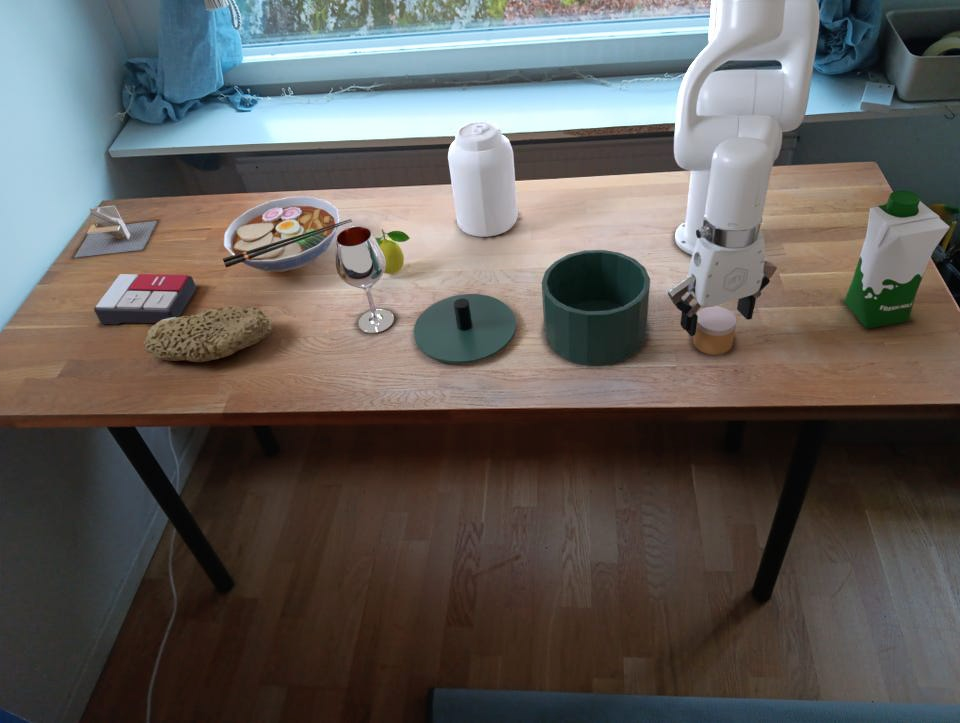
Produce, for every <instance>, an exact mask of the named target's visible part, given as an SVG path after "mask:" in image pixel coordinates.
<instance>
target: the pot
mask: <svg viewBox="0 0 960 723" xmlns="http://www.w3.org/2000/svg"><path fill="white" fill-rule="evenodd" d="M650 287H651V277H650V275H649V273H648V271H647V269H646V267H645V266H644V265H643V264H641V262H639V261H638V260H637V259H636V258H633V257H632V256H629V255H626V254H624V253H622V252H619V251H612V250H606V249H587V250H586V249H585V250H580V251H575V252H573V253H569V254H566V255H564V256H562V257H561V258H559V259H556V260H555V261H554V262H553V263H551V264H550V266H548V268H547V269H546V270H545V271H544V273H543V277H542V280H541V297H542V314H543V329H544V330H543V331H544V337H545V341H546V343H547V344H548V346H549V347H550V349H551V350H552V351H553V352H554V353H555V354H557V355H558V356H559V357H561V358H562V359H564V360H567V361H569V362H572V363H574V364H577V365H583V366H596V367H597V366H598V367H599V366H607V365H608V366H609V365H612V364H616V363H620V362H623V361H625V360H627V359H628V358H630V357H631V356H633V355H634V354H636V353H637V352H638V351H639V350H640V349H641V347H642V346H643V344H644V342H645V340H646V335H647V327H648V326H647V325H648V313H649V299H650Z"/></svg>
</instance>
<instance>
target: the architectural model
mask: <svg viewBox="0 0 960 723" xmlns="http://www.w3.org/2000/svg"><path fill="white" fill-rule="evenodd" d="M89 211H90V214H91V215H92V217H93V219H94V220H95V221H92V223H93V224H91V225H90V227H89V228H88V230H87V231H86V234H87V236H86V238H85V239H84V241H83V242H82V244H81V245H80V247H79V249H78V250H77V252H76V254H75V255H74V257H73V258H83V257H91V256H99V255H100V256H101V255H108V254H109V255H110V254H118V253H126V252H134V251H135V252H136V251H143V250H144V248H145V247H146V245H147V242H148V241H149V239H150V237H151V235H152V233H153V231H154V229H155V227H156V225H157V222H158V220H153V221H144V222H136V223H135V222H134V223H128V224H126V223H125V222H124V220H123V219H122V216H121V215H120V212H119V210H118V209H117V208H116V205H107V206H99V207H91V208H89Z"/></svg>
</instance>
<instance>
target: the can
mask: <svg viewBox="0 0 960 723" xmlns="http://www.w3.org/2000/svg"><path fill="white" fill-rule="evenodd" d="M454 138H455V139H454V140H453V141H452V143H451V144H450V146H449V148H448V153H447V160H448V166H449V173H450V174H449V175H450V181H451V182H450V183H451V188H452V196H453V202H454V210H455V217H456V222H457V226H458V227H459V228H460V230H461V231H462V232H464V233H465V234H468V235H470V236H474V237H481V238H483V237H485V238H486V237H487V238H488V237H494V236H498V235H500V234H503V233H506V232H508V231H509V230H511V229H512V228H513V227H514V225H516V223H517V221H518V216H519V214H518V200H517V186H516V184H517V183H516V173H515V172H516V171H515V159H514V150H513V147H512V144H511V142H510V139H509V138H507V137H506V136H505V135H503V134H502V130H501V128H500V127H499V125H497V124H496V123H494V122H491V121H486V120H485V121H484V120H483V121H472V122H468V123H465V124H464V125H462V126H460V127H459V128H458V129H457V131H456V132H455V136H454Z"/></svg>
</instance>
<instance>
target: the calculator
mask: <svg viewBox="0 0 960 723" xmlns="http://www.w3.org/2000/svg"><path fill="white" fill-rule="evenodd" d="M196 290H197V286H196V282H195V281H194V278H193V276H192V275H188V274H165V273H163V274H161V273H160V274H159V273H139V274H135V273H134V274H133V273H132V274H131V273H120V274H119V275H118V276H117V277H116V279H115V280H114V281H113V283H112V284H111V285H110V286H109V288H108V289H107V291H105V293H104V294H103V296H102V297H101V298H100V300H99V301H98V302H97V304H96V305H95V306H94V307H93V311H94V314H95V315H96V317H97V318H98V320H99V323H100V324H102V325H121V324H122V323H134V324H135V323H136V324H156V323H157V322H159V321H160V320H163V319H167V318H172V317H176V318H177V317H181V314H182V313H183V311H184V309H185V308H186V306H187V305H188V303H189V301H190V300H191V298H192V296H193V295H194V293H195V292H196Z"/></svg>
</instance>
